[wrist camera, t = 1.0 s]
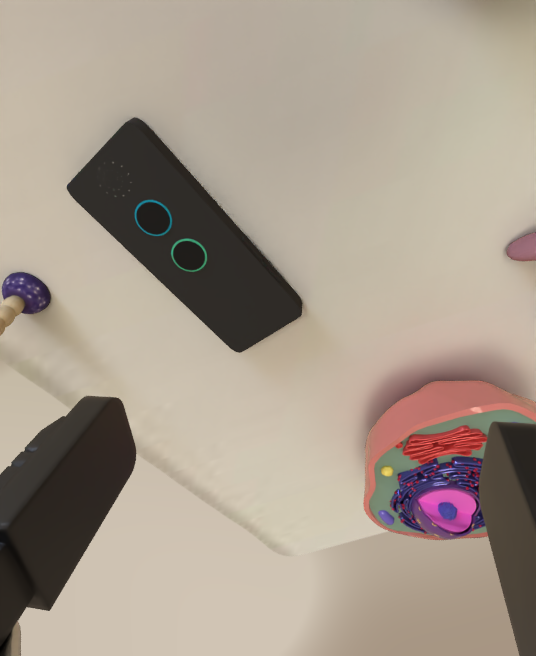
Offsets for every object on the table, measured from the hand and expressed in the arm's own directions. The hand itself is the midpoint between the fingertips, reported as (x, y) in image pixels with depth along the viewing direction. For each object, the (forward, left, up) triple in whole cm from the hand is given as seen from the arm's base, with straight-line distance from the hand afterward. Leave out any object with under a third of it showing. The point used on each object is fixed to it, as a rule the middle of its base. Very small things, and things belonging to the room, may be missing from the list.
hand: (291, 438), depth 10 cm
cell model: (+27, -15, -27) cm, 41 cm away
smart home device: (-3, -13, -27) cm, 30 cm away
